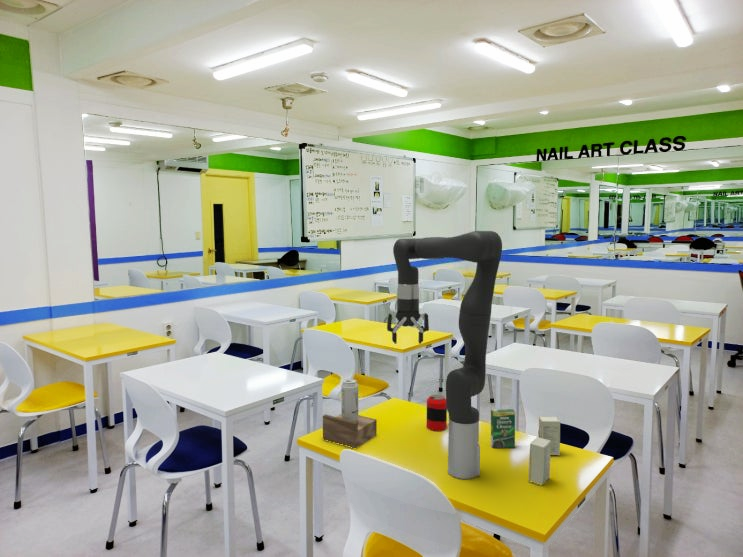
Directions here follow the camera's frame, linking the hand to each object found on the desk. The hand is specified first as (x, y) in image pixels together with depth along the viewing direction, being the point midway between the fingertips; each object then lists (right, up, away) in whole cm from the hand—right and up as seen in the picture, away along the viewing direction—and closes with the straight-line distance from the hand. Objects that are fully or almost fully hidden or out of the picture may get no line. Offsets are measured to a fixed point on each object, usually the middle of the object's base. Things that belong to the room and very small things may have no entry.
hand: (407, 343), depth 178 cm
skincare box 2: (+38, -39, -22) cm, 59 cm away
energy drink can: (-20, -30, +8) cm, 37 cm away
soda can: (+12, -35, +18) cm, 41 cm away
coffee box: (+33, -36, +1) cm, 49 cm away
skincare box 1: (+47, -37, -4) cm, 60 cm away
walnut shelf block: (-20, -35, +9) cm, 42 cm away
